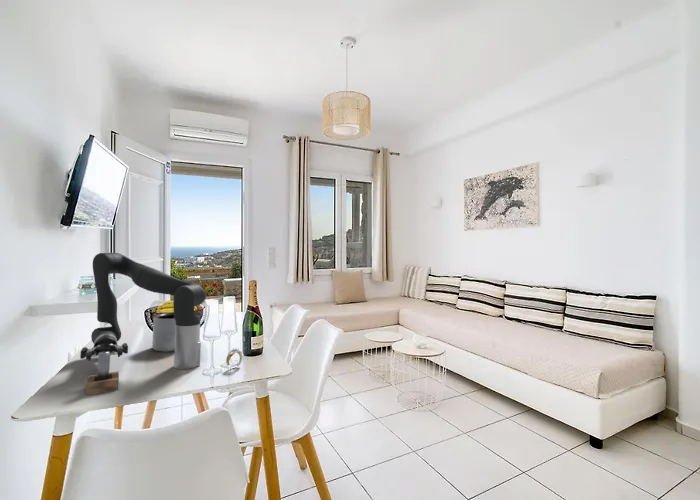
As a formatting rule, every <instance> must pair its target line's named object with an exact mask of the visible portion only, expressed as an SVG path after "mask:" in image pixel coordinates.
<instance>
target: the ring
mask: <svg viewBox="0 0 700 500" xmlns="http://www.w3.org/2000/svg"><path fill="white" fill-rule="evenodd" d="M235 354H237V355H238V356H239V360H238V363H237V364H236V365H237V366H238V367H239V366H240V365H241V364H242V361H243V357H244V355H243V353H242V351H240V349H239V348H236V347H235V348H232V349H231V350H230V351H229V352H228V353H227V356H226V360H225V363H226V366H228V365H230V366H231V364H230V360H231V358H232V357H233V356H234V355H235Z"/></svg>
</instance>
